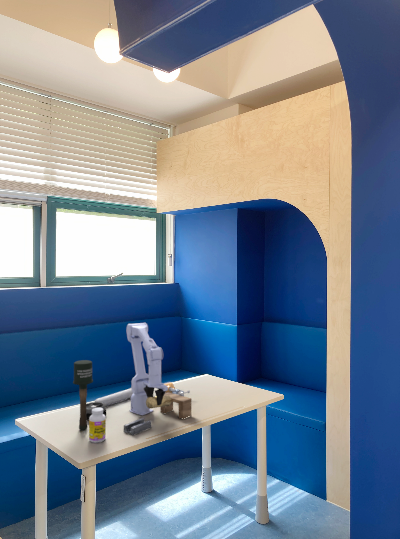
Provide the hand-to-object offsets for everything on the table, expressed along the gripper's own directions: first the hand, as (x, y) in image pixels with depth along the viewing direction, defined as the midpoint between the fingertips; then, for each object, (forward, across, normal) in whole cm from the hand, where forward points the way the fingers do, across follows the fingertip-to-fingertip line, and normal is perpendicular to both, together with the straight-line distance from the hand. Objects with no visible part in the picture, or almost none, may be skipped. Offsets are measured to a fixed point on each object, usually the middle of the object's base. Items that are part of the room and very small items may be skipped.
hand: (154, 403), depth 194 cm
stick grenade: (+9, -19, -26) cm, 33 cm away
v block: (+9, 0, -11) cm, 14 cm away
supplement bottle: (+9, -5, -29) cm, 31 cm away
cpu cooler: (+9, -29, -13) cm, 33 cm away
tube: (+9, -37, +7) cm, 39 cm away
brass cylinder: (+2, 0, +2) cm, 3 cm away
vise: (+9, -18, +32) cm, 38 cm away
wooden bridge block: (+9, 0, +14) cm, 17 cm away
